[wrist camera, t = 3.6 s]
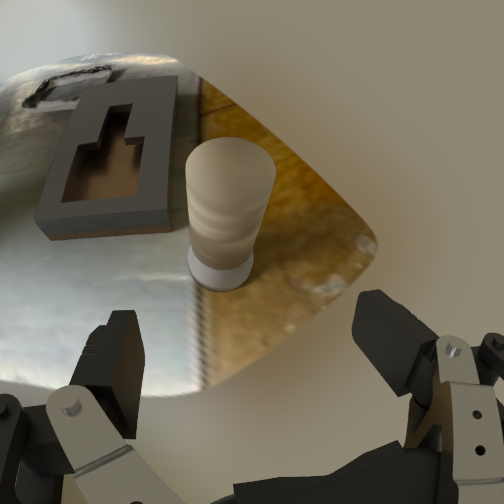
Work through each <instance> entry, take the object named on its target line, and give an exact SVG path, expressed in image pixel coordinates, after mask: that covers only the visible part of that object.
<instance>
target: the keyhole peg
mask: <svg viewBox="0 0 504 504" xmlns="http://www.w3.org/2000/svg"><path fill="white" fill-rule="evenodd" d="M185 170H186V186H187V200H188V212H189V224H190V235H191V244H190V246H189V249H188V264H189V270H190V273H191V275H192V277H193V278H194V280H195V281H196V282H197V283H198V284H199V285H201V286H202V287H204V288H205V289H208V290H210V291H214V292H227V291H231V290H233V289H236V288H237V287H239V286H240V285H242V284H243V283H244V282H245V281H246V279H247V278H248V276H249V274H250V271H251V268H252V266H253V261H254V254H253V246H254V243H255V240H256V237H257V234H258V231H259V228H260V225H261V222H262V218H263V215H264V212H265V209H266V206H267V203H268V200H269V197H270V194H271V191H272V188H273V185H274V182H275V178H276V168H275V164H274V162H273V160H272V158H271V157H270V155H269V154H268V153H267V152H266V151H265V150H264V149H263V148H261V147H260V146H258V145H257V144H255V143H253V142H251V141H248V140H245V139H241V138H235V137H221V138H216V139H212V140H209V141H206V142H204V143H202V144H201V145H199V146H198V147H196V148H195V149H194V150H193V151H192V152H191V154H190V155H189V157H188V159H187V162H186V168H185Z"/></svg>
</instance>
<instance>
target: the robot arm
mask: <svg viewBox="0 0 504 504" xmlns="http://www.w3.org/2000/svg"><path fill="white" fill-rule="evenodd" d="M352 336H353V339H354V341H355V343H356V344H357V345H358V346H359V348H360V349H361V350H362V352H364V354H365V355H366V356H367V358H368V359H369V360H370V362H371V363H372V364H373V366H374V367H375V368H376V369H377V370H378V372H379V373H380V374H381V376H382V377H383V378H384V379H385V381H386V382H387V383H388V385H389V386H390V387H391V389H392V390H393V391H394V393H395V394H396V395H397V396H398V397H400V396H403V395H406V394H408V393H410V392H411V394H412V397H411V399H410V402H409V413H408V424H407V433H406V440H405V444H404V447H403V448H402V446H401V445H400V443H399V442H398V440H396V441H394V442H391V443H389V444H386V445H384V446H382V447H379V448H377V449H374V450H372V451H369V452H366V453H364V454H362V455H361V456H359V457H358V458H356V459H354V460H353V461H351V462H350V463H348V464H347V465H345V466H343V467H342V468H340V469H338V470H337V471H335V472H334V473H331V474H329V475H325V476H310V477H277V478H272V479H266V480H259V481H253V482H246V483H238V484H233V488H234V494H232V495H229V496H226V497H224V498H221V499H219V500H217V501H215V502H213V503H211V504H504V406H503V405H502V404H501V403H500V402H499V400H498V399H497V398H496V397H495V392H494V389H493V386H494V384H495V383H496V381H497V379H498V378H499V376H500V377H501V378H502V379H503V380H504V336H502V335H500V334H497V333H488V334H486V335H485V337H484V339H483V341H482V344H481V345H480V346H477V347H470V346H469V345H468V344H467V343H466V342H465V341H464V340H462V339H460V338H457V337H453V336H443V337H438V336H437V335H436V334H435V333H434V332H433V331H432V330H431V329H430V328H428V327H427V326H426V325H425V324H424V323H422V322H421V321H420V320H418V319H417V317H416V316H414V315H413V314H411V312H410V311H409V310H407V309H406V308H405V307H404V306H403V305H401V304H399V303H397V302H395V301H393V300H392V299H391V298H389V297H388V296H387V295H386V294H385V293H384V292H382V291H381V290H379V289H378V290H371V291H364V292H361V293H360V294H359V296H358V300H357V305H356V310H355V315H354V319H353V324H352ZM144 366H145V352H144V346H143V342H142V338H141V333H140V329H139V324H138V320H137V315H136V312H135V311H134V310H116V311H112V313H111V316H110V318H109V320H108V323H107V325H99V326H98V327H97V328H96V329H95V330H94V331H93V332H92V333H91V334H90V335H89V338H88V340H87V342H86V346H85V347H84V349H83V351H82V355H81V356H80V358H79V361H78V363H77V366H76V368H75V371H74V373H73V376H72V378H71V381H70V383H69V385H68V386H64V387H61V388H59V389H57V390H56V391H55V392H53V394H51V396H50V397H49V399H48V401H47V403H46V404H45V405H39V406H32V407H22V406H21V404H20V402H19V401H18V399H16V398H15V397H14V396H13V395H10V394H0V504H61V497H62V487H63V479H64V474H73V477H74V480H75V482H76V483H77V485H78V487H79V489H80V490H81V492H82V493H83V495H84V497H85V498H86V500H87V501H88V503H89V504H185V502H183V501H182V500H181V499H180V498H179V497H178V496H177V495H176V494H175V493H174V492H173V491H172V490H171V489H170V488H169V487H168V486H167V485H166V484H165V483H164V482H163V481H162V480H161V479H160V477H159V476H158V475H157V474H156V473H155V472H154V471H153V470H152V469H151V468H150V467H149V465H148V464H147V463H146V462H145V461H144V460H143V458H142V457H141V456H140V455H139V454H138V453H137V451H136V450H135V449H134V448H133V447H132V446H131V445H130V446H129V445H128V444H127V443H126V442H125V440H124V439H136V430H137V419H138V411H139V402H140V395H141V387H142V380H143V373H144ZM19 463H20V467H19ZM18 468H19V472H18ZM17 472H18V477H17V481H16V476H17ZM15 482H16V487H15Z"/></svg>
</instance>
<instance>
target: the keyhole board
mask: <svg viewBox="0 0 504 504" xmlns="http://www.w3.org/2000/svg"><path fill="white" fill-rule="evenodd" d="M177 105H178V76H163V77H152V78H142V79H133V80H125V81H118V82H112V83H106V84H100V85H95V86H89V87H86V88H85V90H84V92H83V94H82V96H81V98H80V100H79V102H78V104H77V106H76V108H75V110H74V112H73V114H72V116H71V118H70V120H69V123H68V125H67V127H66V129H65V132H64V134H63V136H62V139H61V141H60V143H59V146H58V148H57V151H56V153H55V156H54V159H53V161H52V164H51V167H50V170H49V173H48V176H47V179H46V182H45V185H44V188H43V191H42V194H41V198H40V201H39V205H38V208H37V212H36V216H35V219H34V222H35V223H36V224H37V225H38V226H39V228H40V229H41V230H42V231H43V232H44V234H45V235H46V236H47V237H48V238H49V239H50V240H51V241H55V240H67V239H79V238H92V237H105V236H119V235H134V234H149V233H166V232H171V210H172V177H173V157H174V141H175V127H176V116H177Z"/></svg>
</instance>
